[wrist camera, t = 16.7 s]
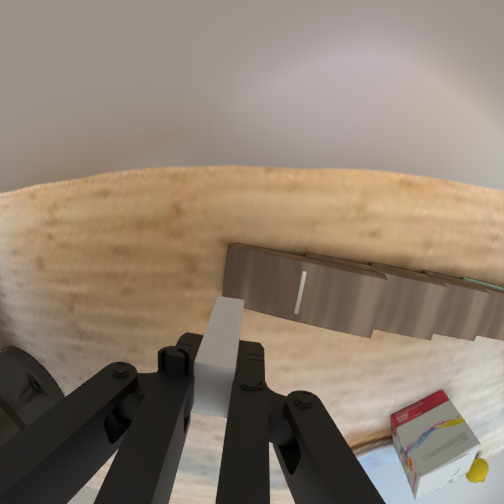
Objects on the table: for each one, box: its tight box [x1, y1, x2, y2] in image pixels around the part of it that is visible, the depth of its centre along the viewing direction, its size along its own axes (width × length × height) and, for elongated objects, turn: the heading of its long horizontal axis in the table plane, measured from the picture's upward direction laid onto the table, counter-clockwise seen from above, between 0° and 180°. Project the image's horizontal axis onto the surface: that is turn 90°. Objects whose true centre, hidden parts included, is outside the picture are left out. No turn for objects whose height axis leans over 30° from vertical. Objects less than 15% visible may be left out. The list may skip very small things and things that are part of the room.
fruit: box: [466, 458, 488, 483], centre depth 31 cm, size 6×6×8 cm
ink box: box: [391, 390, 480, 500], centre depth 25 cm, size 9×9×12 cm
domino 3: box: [370, 262, 491, 341], centre depth 23 cm, size 2×5×13 cm
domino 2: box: [305, 252, 448, 340], centre depth 23 cm, size 2×5×13 cm
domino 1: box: [222, 243, 388, 338], centre depth 23 cm, size 2×5×13 cm
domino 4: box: [423, 270, 504, 341], centre depth 23 cm, size 2×5×13 cm
